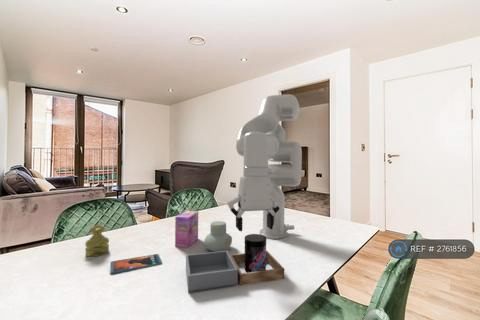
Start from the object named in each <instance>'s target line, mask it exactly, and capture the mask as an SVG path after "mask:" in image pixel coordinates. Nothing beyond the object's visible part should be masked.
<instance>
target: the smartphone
mask: <svg viewBox="0 0 480 320" xmlns="http://www.w3.org/2000/svg"><path fill="white" fill-rule="evenodd" d="M160 265H163V261H162V259H161V257H160V254H159V253H155V254H150V255H149V254H148V255H144V256H137V257H131V258H124V259H120V260H119V259H118V260H113V261H110V266H109V267H110V269H109V271H110V272H109V273H110V275H115V274H121V273H126V272H131V271H135V270H140V269H141V270H142V269H145V268H146V269H147V268H150V267H154V266H160Z"/></svg>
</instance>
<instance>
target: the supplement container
mask: <svg viewBox="0 0 480 320" xmlns="http://www.w3.org/2000/svg"><path fill="white" fill-rule="evenodd" d="M266 251H267V238H266V237H265V236H264V235H260V233H250V234H247V235H245V236H244V253H245V263H244V268H243V269H244V271H245V273H248V272H255V271H263V270H267V261H266Z"/></svg>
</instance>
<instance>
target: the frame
mask: <svg viewBox="0 0 480 320" xmlns="http://www.w3.org/2000/svg"><path fill="white" fill-rule="evenodd" d="M229 255H230V257H231V258H232V260H233V262H234V264H235V266H236V268H237V269H238V283H239V284H238V285H239V286H246V285H253V284H260V283H265V282H273V281H279V280H285V267H283V266H282V264H280V262H278V260H277V259H276V258H275V257H274V256H273V255H272V254H271V253H270V252H269V251H268V250H266V263H268V264H269V266H270V267H271V269H266V270H263V271H255V272H248V273H246V272H242V271H241V269H240V268H239V266H238V264H245V252H244V253H243V252H242V253H235V254H234V253H233V254H229Z"/></svg>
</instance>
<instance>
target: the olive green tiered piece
mask: <svg viewBox="0 0 480 320" xmlns="http://www.w3.org/2000/svg"><path fill="white" fill-rule="evenodd" d="M105 230H106V226H103V225H101V224H96V225H94V226H92V227H91V228H89V229H88V231H89V232H90V233H92V236H91V237H90V238H89V239H87V240H86V242H84V244H85V245H84V246H85V249H84V251H85V256H87V257H91V258H92V257H99V256H103V255H105V254H107V253H108V252H109V250H110V244H109V242H110V239H109V237H107V236H105V235H104V234H102V232H103V231H105Z"/></svg>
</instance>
